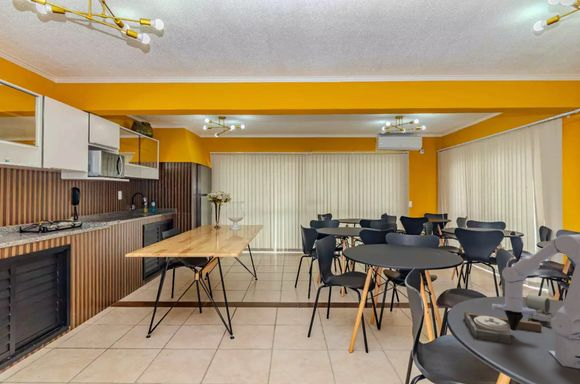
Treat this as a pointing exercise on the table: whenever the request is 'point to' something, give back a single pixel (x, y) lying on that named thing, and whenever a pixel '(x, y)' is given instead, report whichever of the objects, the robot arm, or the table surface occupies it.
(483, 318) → the lid
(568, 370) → the table surface
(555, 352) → the robot arm
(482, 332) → the u-shaped bar frame
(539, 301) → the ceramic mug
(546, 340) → the table surface
